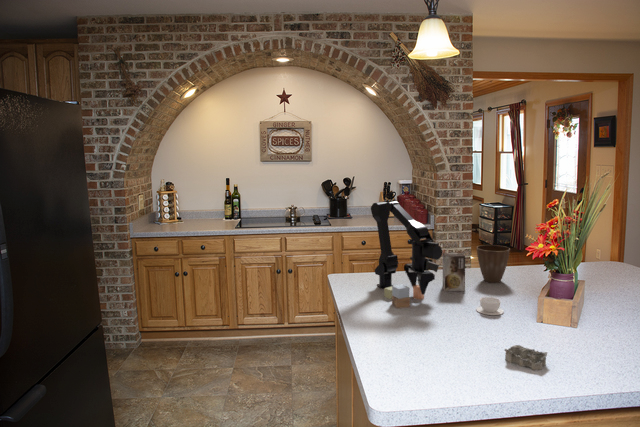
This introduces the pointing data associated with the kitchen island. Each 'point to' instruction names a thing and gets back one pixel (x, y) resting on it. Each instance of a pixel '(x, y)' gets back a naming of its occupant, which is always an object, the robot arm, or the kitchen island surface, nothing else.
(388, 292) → the olive block
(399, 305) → the tower base
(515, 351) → the egg carton
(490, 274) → the plant pot
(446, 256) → the coffee box
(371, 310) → the kitchen island surface
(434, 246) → the robot arm
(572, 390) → the kitchen island surface
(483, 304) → the teacup
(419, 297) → the terracotta cylinder
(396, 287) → the tower mid
